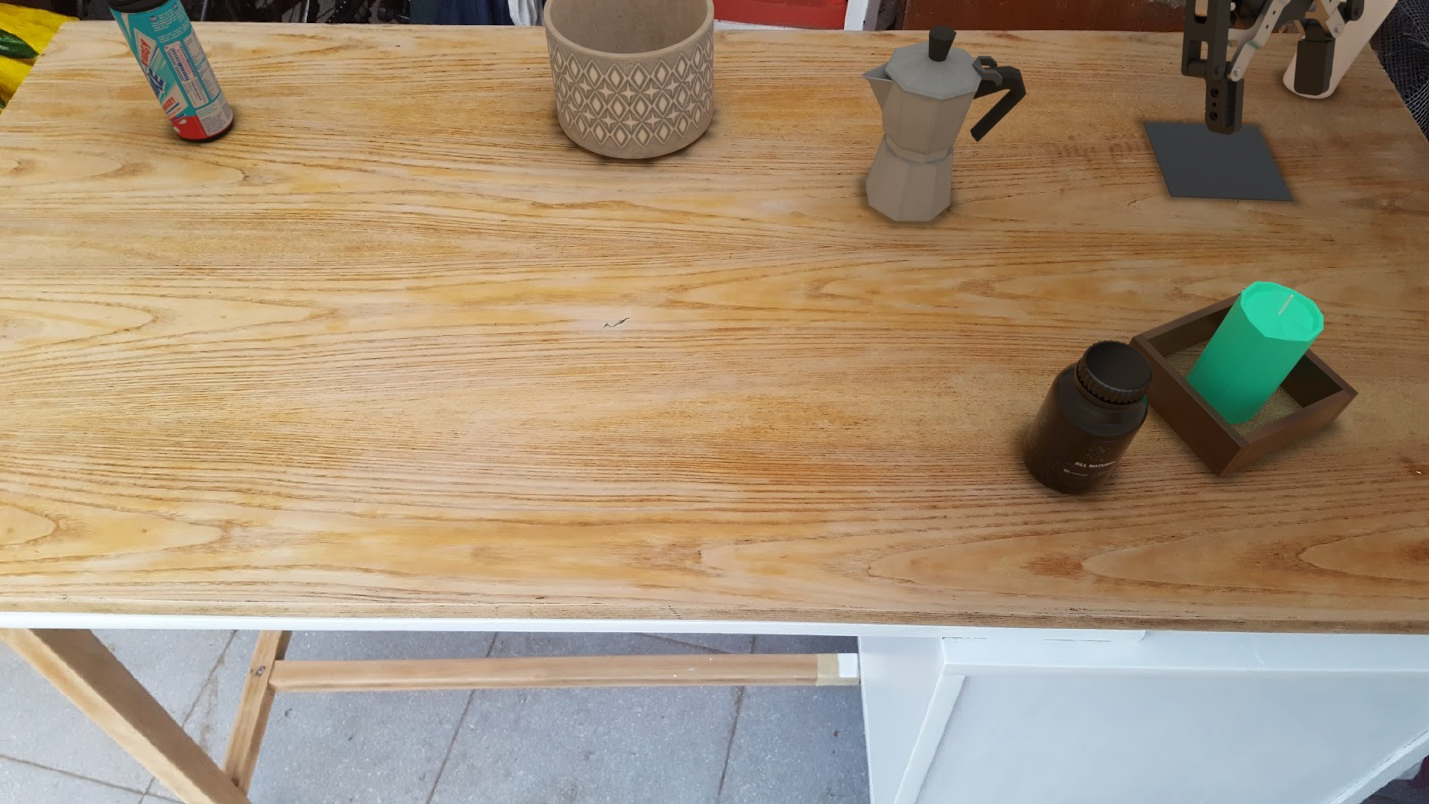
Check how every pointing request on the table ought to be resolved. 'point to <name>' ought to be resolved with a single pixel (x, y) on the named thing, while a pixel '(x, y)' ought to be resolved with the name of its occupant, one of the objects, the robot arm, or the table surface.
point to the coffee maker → (929, 121)
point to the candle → (1255, 349)
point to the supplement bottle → (1089, 418)
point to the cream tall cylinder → (1348, 43)
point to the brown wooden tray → (1204, 425)
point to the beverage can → (175, 66)
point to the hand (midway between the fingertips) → (1268, 112)
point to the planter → (632, 73)
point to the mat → (1216, 162)
